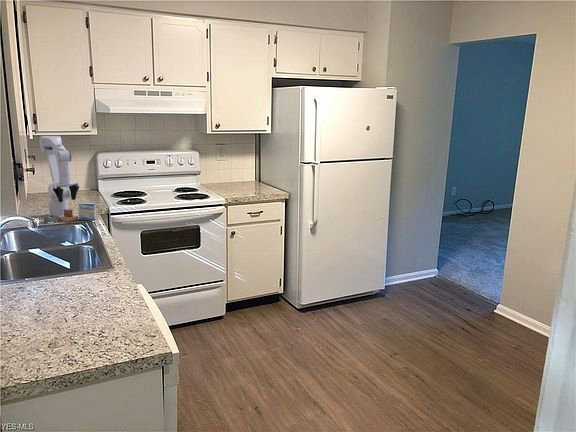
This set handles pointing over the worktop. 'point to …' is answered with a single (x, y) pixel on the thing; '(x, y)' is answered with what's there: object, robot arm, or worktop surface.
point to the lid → (68, 216)
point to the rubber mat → (69, 221)
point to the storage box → (51, 218)
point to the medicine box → (87, 211)
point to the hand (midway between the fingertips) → (67, 200)
